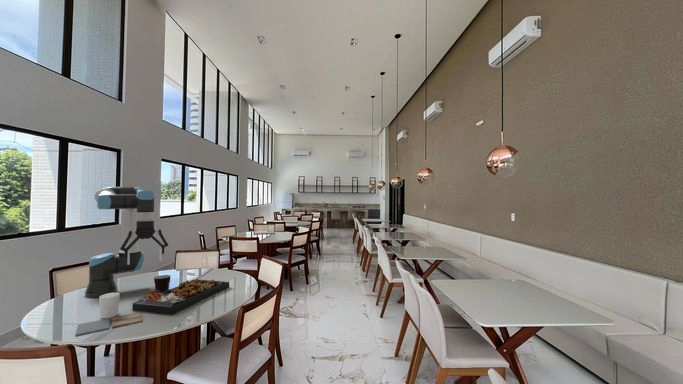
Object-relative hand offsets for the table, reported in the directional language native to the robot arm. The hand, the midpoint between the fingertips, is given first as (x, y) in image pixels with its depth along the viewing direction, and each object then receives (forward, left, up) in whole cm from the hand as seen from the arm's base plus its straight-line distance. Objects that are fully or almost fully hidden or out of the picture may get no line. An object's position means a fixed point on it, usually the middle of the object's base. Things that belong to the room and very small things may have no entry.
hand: (145, 262), depth 149 cm
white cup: (-4, -14, -25) cm, 29 cm away
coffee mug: (-28, +12, -25) cm, 39 cm away
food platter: (-9, +21, -26) cm, 34 cm away
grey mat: (+8, -20, -25) cm, 32 cm away
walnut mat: (+8, -8, -25) cm, 27 cm away
